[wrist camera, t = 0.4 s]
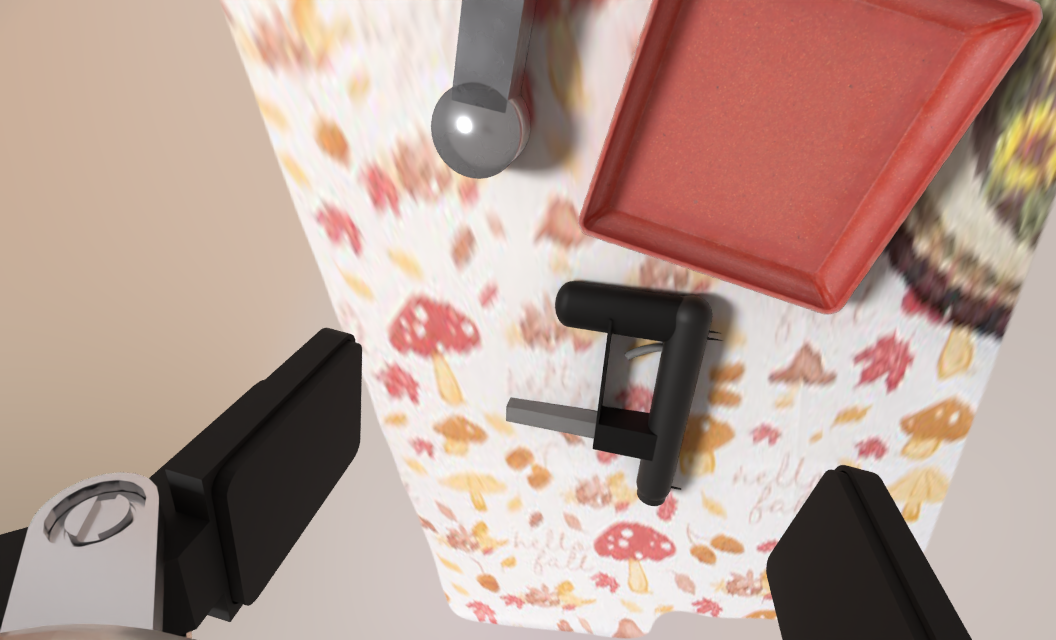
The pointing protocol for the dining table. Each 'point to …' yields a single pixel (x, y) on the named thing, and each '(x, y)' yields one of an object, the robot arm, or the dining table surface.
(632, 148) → the plant saucer
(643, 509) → the dining table surface
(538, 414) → the door handle
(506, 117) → the ball joint lever
